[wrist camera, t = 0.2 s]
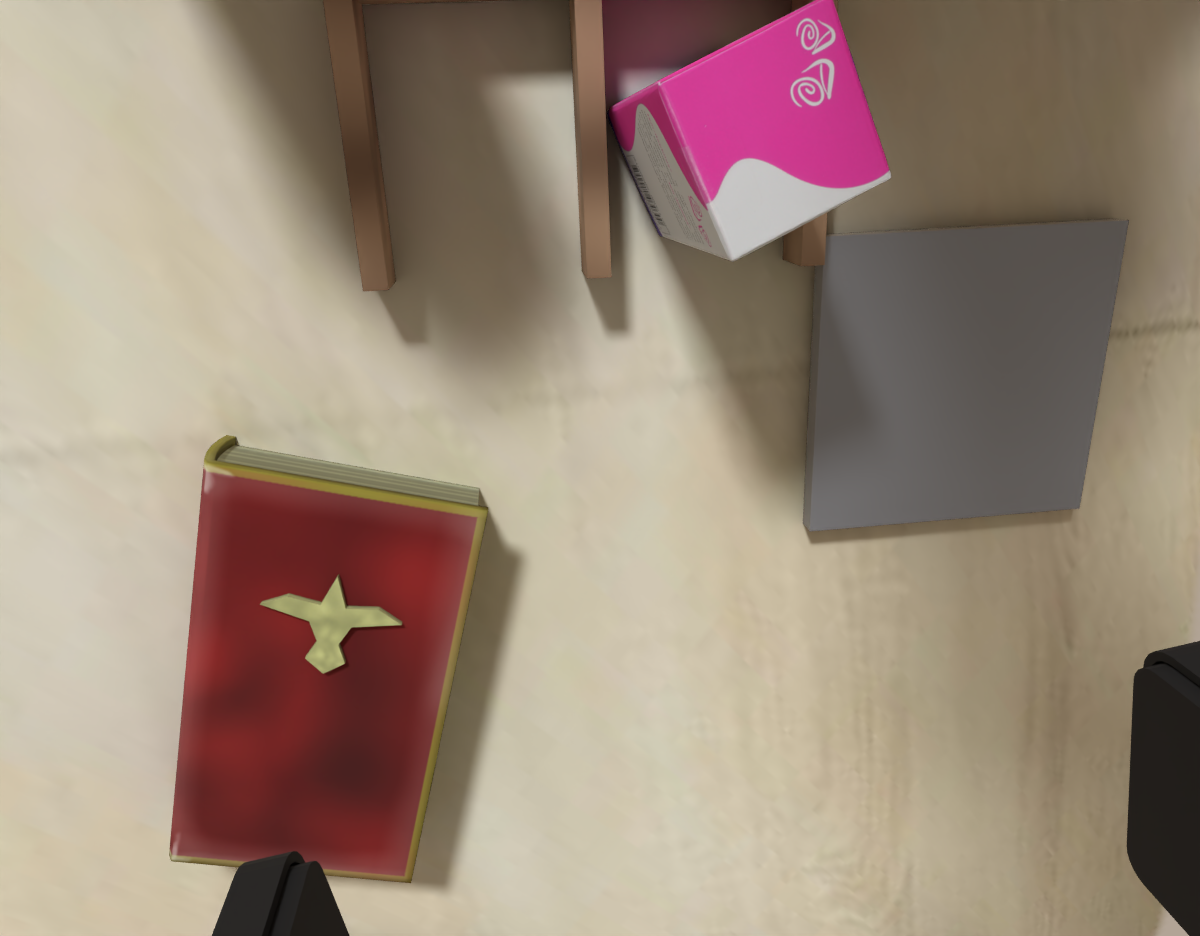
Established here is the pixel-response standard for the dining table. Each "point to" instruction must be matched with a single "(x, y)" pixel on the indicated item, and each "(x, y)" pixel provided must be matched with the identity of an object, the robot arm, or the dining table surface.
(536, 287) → the dining table surface
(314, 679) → the hardcover book
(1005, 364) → the slate board
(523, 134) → the dining table surface
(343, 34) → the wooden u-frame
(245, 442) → the dining table surface
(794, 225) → the supplement box
